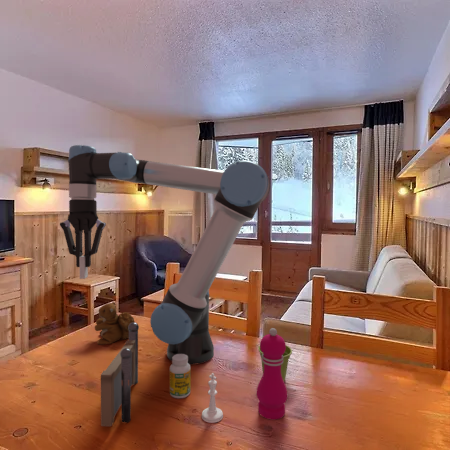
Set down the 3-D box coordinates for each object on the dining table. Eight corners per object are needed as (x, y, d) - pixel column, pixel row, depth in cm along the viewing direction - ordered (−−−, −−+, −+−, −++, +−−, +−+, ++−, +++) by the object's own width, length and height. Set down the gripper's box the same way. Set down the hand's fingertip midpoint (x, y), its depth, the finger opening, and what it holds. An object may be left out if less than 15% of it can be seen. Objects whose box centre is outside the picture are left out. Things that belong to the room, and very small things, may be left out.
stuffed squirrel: (98, 334, 126) (98, 299, 126) (137, 333, 128) (137, 299, 128) (91, 345, 117) (91, 307, 116) (133, 343, 118) (133, 306, 118)
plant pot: (294, 375, 97) (295, 345, 97) (286, 391, 89) (287, 359, 88) (263, 368, 101) (264, 340, 101) (252, 383, 93) (253, 352, 92)
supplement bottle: (186, 386, 91) (187, 351, 90) (193, 396, 86) (193, 359, 85) (167, 390, 88) (167, 354, 88) (172, 401, 84) (173, 363, 83)
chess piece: (215, 425, 74) (215, 381, 74) (197, 418, 77) (197, 375, 77) (227, 414, 79) (227, 372, 78) (209, 407, 81) (210, 366, 81)
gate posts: (144, 379, 94) (144, 320, 93) (130, 423, 75) (130, 349, 74) (129, 379, 94) (129, 320, 93) (111, 423, 74) (110, 350, 74)
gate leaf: (127, 381, 90) (127, 340, 90) (135, 381, 90) (135, 340, 90) (100, 426, 72) (100, 374, 71) (111, 426, 72) (111, 374, 71)
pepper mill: (286, 423, 76) (288, 335, 75) (254, 418, 77) (256, 332, 76) (287, 404, 83) (289, 324, 82) (257, 401, 84) (259, 322, 83)
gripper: (108, 199, 105) (109, 275, 106) (65, 199, 104) (66, 275, 105) (101, 199, 97) (102, 280, 98) (54, 198, 96) (56, 280, 97)
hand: (83, 277), depth 102 cm, fingers closed
